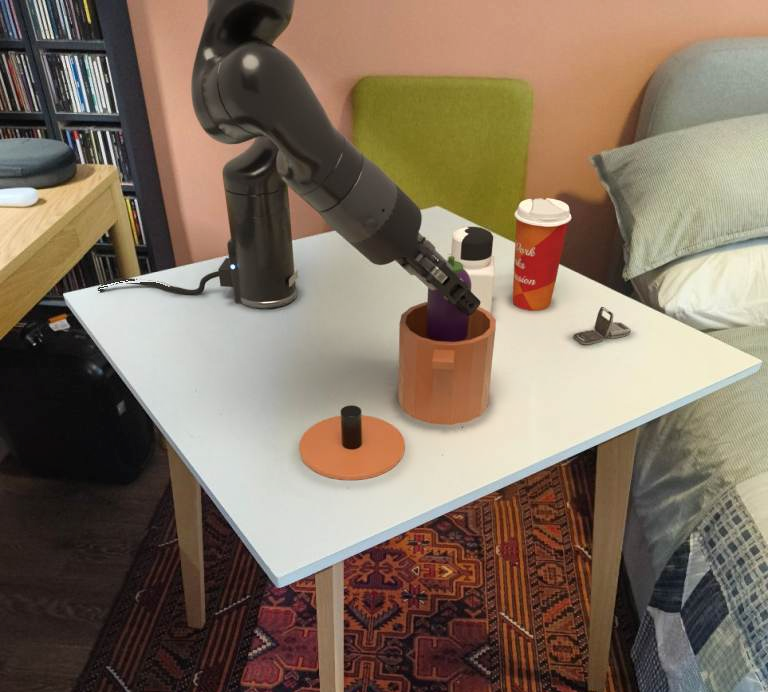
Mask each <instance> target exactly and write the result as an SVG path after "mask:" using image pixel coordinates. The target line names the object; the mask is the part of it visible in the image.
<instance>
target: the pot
mask: <svg viewBox="0 0 768 692" xmlns="http://www.w3.org/2000/svg"><path fill="white" fill-rule="evenodd" d="M426 324H427V301H424V302H421V303H418V304H416V305H413V306H411V307H409V308H408V309H406V310H405V311H404V312H403V313H402V314H401V315H400V319H399V323H398V325H399V326H398V327H399V328H398V329H399V331H398V396H397V398H398V404H399V405H400V408H401V409H402V411H403V412H404V413H406V414H408V415H409V416H410V417H412V418H413V419H415V420H418V421H422V422H425V423H428V424H432V425H444V426H445V425H448V426H452V425H458V424H463V423H468V422H470V421H472V420H475V419H477V418H479V417H481V415H482V414H483V413H484V412H485V411H486V410H487V409H488V405H489V395H490V386H491V378H492V377H491V376H492V375H491V374H492V368H493V367H492V366H493V357H494V347H495V339H496V338H495V337H496V327H497V321H496V318H495V317H494V316H493V315H492V313H491V314H490V313H489V312H488V311H486V310H484V309H482V308H480V307H478V308H477V309H476V310H475V311H474V312H473V314H472V315H470V316H469V322H468V334H467V337H466V338H465V339H464V340H462V341H458V342H443V341H434V340H431V339H430V338H429V337H428V336H427V335H426Z"/></svg>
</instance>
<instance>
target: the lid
mask: <svg viewBox="0 0 768 692" xmlns="http://www.w3.org/2000/svg"><path fill="white" fill-rule="evenodd" d="M298 445H299V447H298V449H299V457H300V458H301V460H302V462H303V463H304V465H305V466H306V467H308V468H309V469H310V470H311V471H313V472H315V473H317V474H319V475H321V476H324V477H327V478H330V479H335V480H341V481H342V480H343V481H359V480H366V479H372V478H375V477H378V476H380V475H383V474H385V473H387V472H388V471H390V470H392V469H394V468H395V467H396V466H397V465H398V464H399V463H400V461H401V460H402V459H403V456H404V454H405V438H404V437H403V435H402V432H401V431H400V430H399V429H398V428H397V427H396V426H394V425H393V424H391V423H390V422H388V421H386V420H384V419H381V418H378V417H374V416H370V415H364V414H362V409H361V407H359V406H357V405H351V404H350V405H349V404H348V405H345V406H343V407H341V409H340V415H338V416H337V415H336V416H333V417H329V418H326V419H323V420H321V421H319V422H317V423H315V424H313V425H312V426H310V427H309V428H308V429H307V430H306V431H305V432H303V434H302V436H301V438H300V441H299V444H298Z"/></svg>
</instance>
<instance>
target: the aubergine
mask: <svg viewBox="0 0 768 692" xmlns="http://www.w3.org/2000/svg"><path fill="white" fill-rule="evenodd" d="M447 258H448V261H447V260H446V261H447V262H449V263H450V264H451V266H452V271H453V272H454V273H455V274H456V275H457V276H458V277H459V278H460V279H462V280H463V282H464V281H465V282H466V283H467V286H468V287H469V288H468V289H469V290H470V291H471V280H470V277H469V275H468V273H467V272H466V271H465V270H464V269H463V264H462V263H460V262H458V261H454V259H455V258H454V257H453V256H449V257H448V256H447ZM426 302H427V324H426V335H427V336H428V337H429V338H430V339H431V340H434V341H443V342H458V341H462V340H464V339H465V338H466V337H467V334H468V322H469V316H467V315H466V314H465V313H464V312H463V311H462V310H460V309H459V308H458V307H457V306H456V305H455V304H453V303H449V302H448V301H447V300H446V299H445V298H444V295H443V294H442V293H441V292H439V291H438V290H437V289H435V290H430V289H429V288H428V287H427V301H426Z"/></svg>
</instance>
